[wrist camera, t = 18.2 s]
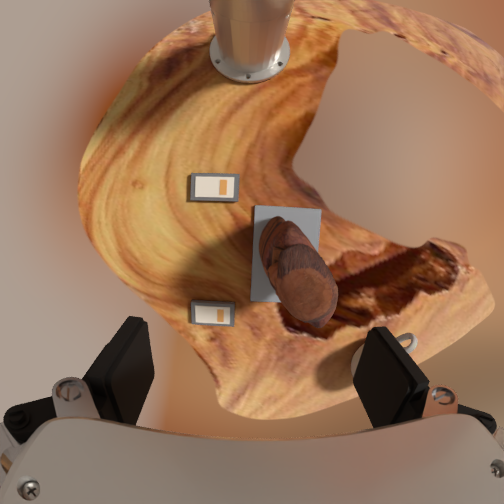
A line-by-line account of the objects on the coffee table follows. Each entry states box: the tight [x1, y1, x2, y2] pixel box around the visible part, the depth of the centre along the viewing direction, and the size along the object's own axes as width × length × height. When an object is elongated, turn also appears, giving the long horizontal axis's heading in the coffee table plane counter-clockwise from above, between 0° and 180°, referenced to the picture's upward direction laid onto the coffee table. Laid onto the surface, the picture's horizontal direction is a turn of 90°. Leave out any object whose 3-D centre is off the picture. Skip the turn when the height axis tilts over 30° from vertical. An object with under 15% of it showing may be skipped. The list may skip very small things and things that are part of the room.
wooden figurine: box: [259, 216, 338, 328], centre depth 33 cm, size 12×6×18 cm, turn 33°
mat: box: [250, 205, 321, 302], centre depth 42 cm, size 15×10×1 cm, turn 177°
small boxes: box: [191, 173, 240, 327], centre depth 41 cm, size 24×7×1 cm, turn 177°
